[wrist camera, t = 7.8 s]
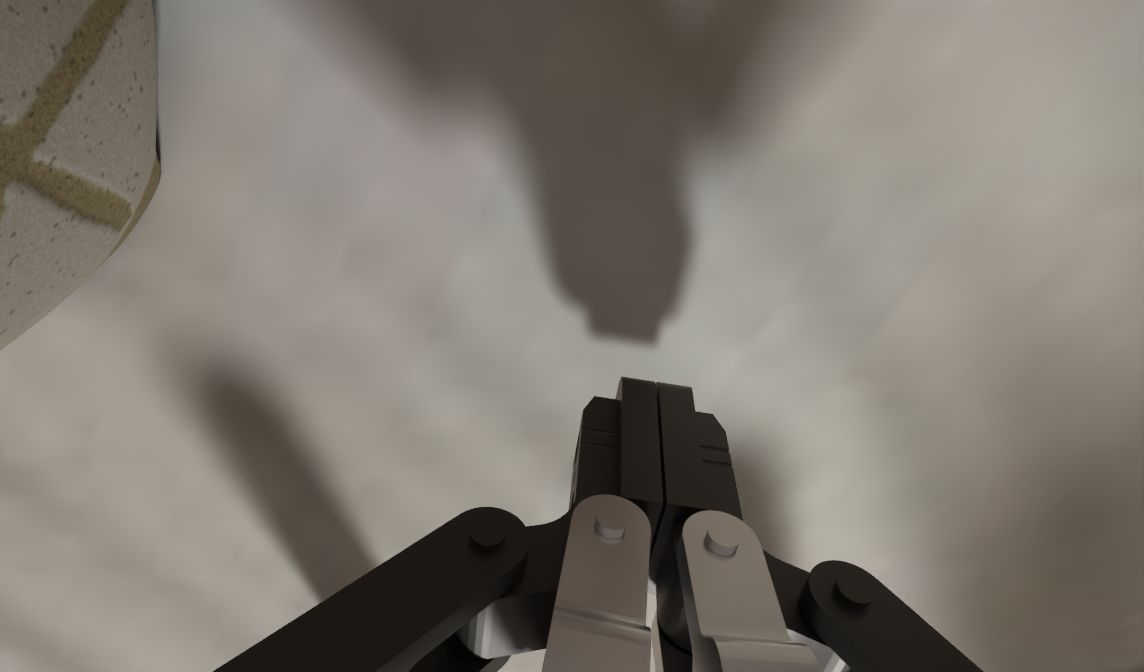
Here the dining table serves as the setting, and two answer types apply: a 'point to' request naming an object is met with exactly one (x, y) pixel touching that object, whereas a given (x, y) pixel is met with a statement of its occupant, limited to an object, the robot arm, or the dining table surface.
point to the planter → (71, 144)
